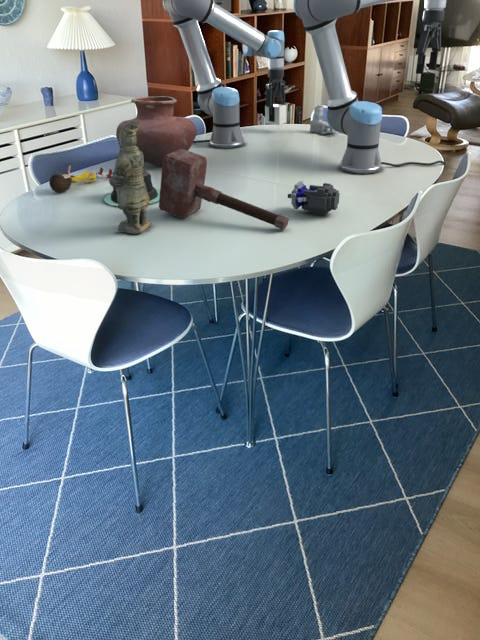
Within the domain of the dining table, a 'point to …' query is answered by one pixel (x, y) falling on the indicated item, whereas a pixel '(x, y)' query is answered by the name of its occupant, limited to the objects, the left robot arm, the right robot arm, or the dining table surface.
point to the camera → (320, 122)
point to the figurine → (74, 179)
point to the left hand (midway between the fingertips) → (275, 120)
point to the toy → (315, 198)
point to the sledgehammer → (200, 190)
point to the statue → (131, 182)
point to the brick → (276, 114)
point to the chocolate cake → (152, 192)
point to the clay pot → (160, 128)
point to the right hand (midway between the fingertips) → (425, 71)
